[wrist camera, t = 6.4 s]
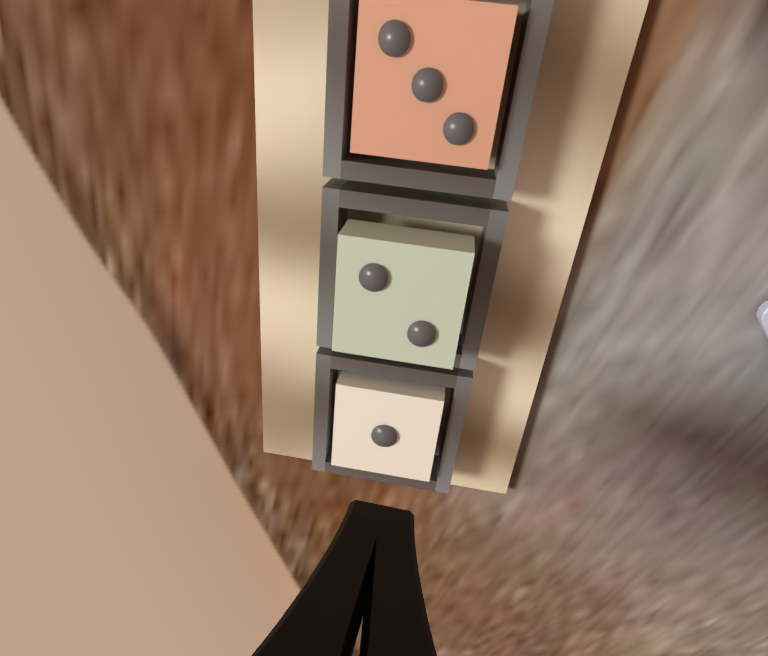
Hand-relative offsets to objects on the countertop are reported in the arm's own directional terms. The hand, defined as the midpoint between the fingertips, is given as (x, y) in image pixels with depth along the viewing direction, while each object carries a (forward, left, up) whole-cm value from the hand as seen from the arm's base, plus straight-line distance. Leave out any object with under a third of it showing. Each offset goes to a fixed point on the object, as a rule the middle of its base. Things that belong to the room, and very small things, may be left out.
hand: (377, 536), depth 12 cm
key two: (+3, -2, -6) cm, 7 cm away
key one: (-1, +2, -7) cm, 8 cm away
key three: (+7, -6, -7) cm, 12 cm away
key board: (+3, -2, -8) cm, 9 cm away
